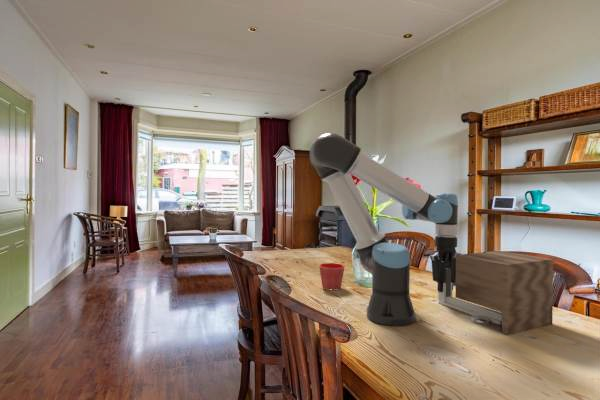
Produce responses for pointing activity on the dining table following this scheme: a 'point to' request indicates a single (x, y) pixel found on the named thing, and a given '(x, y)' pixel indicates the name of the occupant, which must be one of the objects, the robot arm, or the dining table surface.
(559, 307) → the dining table surface
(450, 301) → the scraper
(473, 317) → the steel disc
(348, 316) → the dining table surface
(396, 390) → the dining table surface
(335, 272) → the flower pot
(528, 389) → the dining table surface
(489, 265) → the walnut cabinet
